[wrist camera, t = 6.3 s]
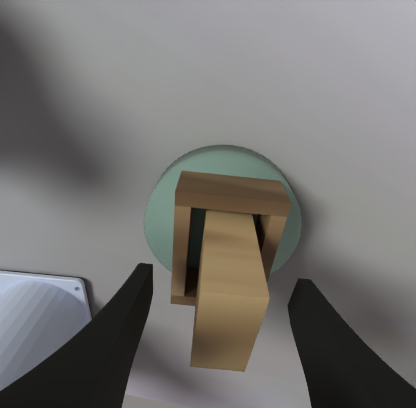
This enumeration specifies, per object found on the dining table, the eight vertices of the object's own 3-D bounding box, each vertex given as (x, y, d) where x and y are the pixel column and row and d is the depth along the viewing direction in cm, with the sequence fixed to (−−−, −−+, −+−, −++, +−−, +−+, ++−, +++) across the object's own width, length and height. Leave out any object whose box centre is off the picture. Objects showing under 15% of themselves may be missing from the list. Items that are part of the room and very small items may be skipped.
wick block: (235, 263, 18) (244, 371, 12) (199, 259, 18) (190, 366, 12) (249, 201, 15) (269, 298, 9) (207, 196, 15) (200, 291, 9)
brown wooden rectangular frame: (253, 281, 19) (258, 311, 17) (176, 274, 19) (170, 303, 16) (280, 180, 15) (291, 203, 12) (181, 170, 14) (175, 191, 12)
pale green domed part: (274, 269, 21) (280, 293, 19) (153, 257, 21) (145, 280, 19) (310, 153, 16) (324, 169, 14) (151, 136, 16) (141, 149, 14)
